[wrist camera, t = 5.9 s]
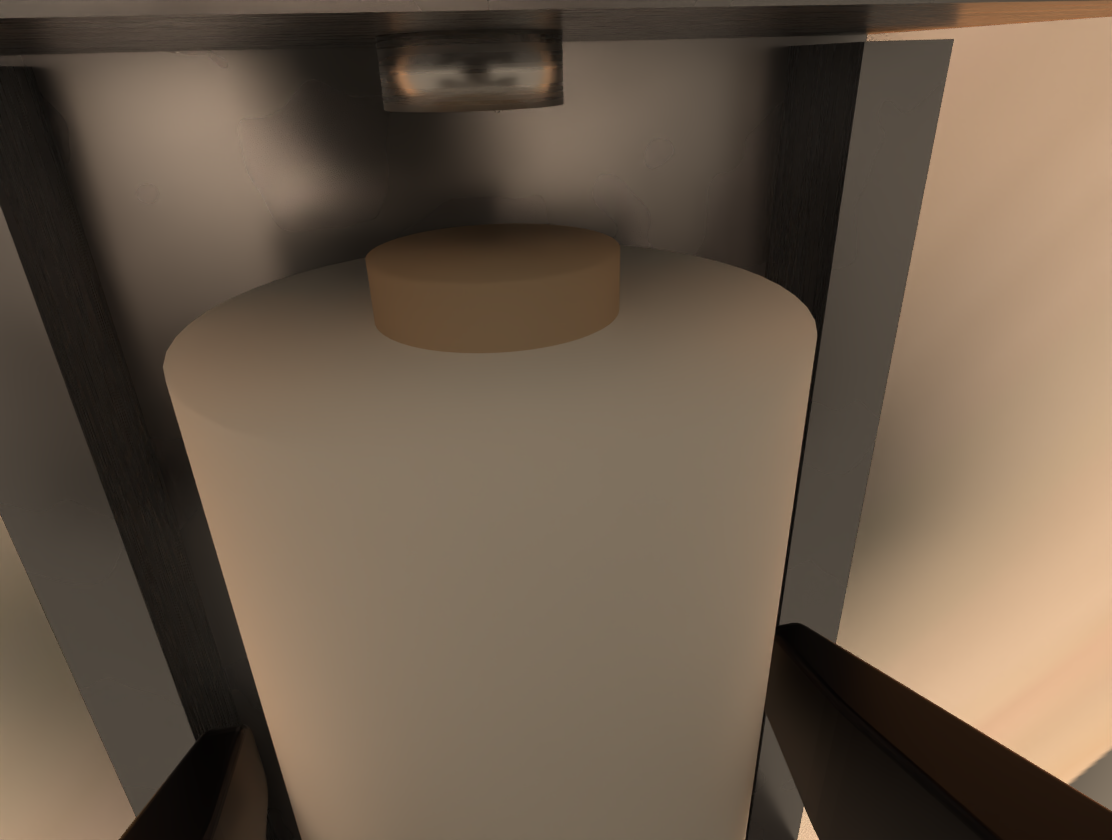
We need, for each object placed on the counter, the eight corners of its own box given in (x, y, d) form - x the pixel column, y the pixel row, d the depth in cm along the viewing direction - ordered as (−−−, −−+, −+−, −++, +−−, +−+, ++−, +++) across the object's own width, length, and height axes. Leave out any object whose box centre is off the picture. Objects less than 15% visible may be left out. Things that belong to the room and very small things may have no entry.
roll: (229, 213, 7) (-17, 417, 3) (683, 185, 8) (1005, 316, 4) (368, 824, 12) (348, 1265, 8) (653, 768, 13) (789, 1138, 8)
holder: (839, -103, 9) (1539, -368, 3) (730, 778, 16) (904, 1132, 11) (-96, -115, 7) (-1638, -706, 2) (256, 884, 14) (180, 1373, 9)
